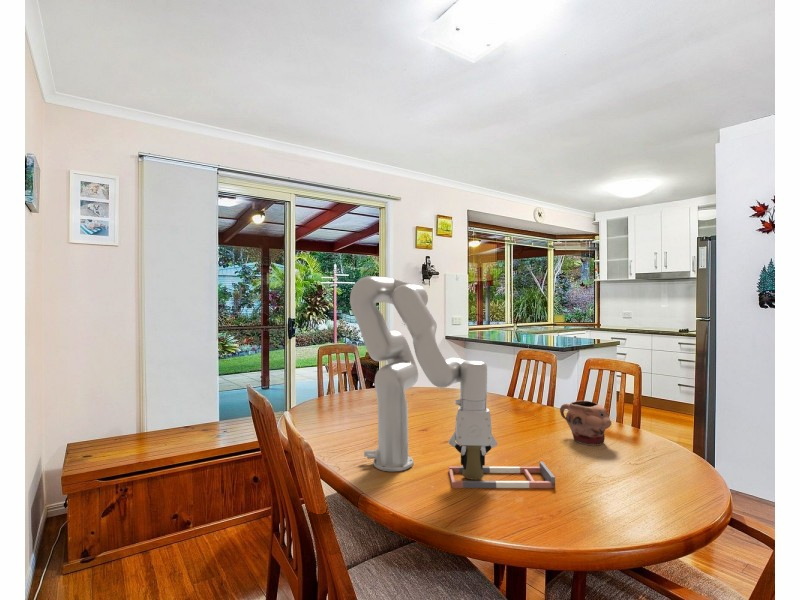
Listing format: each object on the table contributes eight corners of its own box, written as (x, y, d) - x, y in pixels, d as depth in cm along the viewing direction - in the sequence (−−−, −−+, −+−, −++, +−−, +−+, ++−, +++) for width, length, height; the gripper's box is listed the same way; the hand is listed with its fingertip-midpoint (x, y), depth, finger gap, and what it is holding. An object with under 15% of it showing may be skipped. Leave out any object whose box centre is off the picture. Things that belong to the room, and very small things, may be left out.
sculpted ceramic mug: (549, 437, 158) (549, 399, 158) (567, 430, 165) (567, 395, 165) (603, 452, 142) (602, 410, 142) (620, 444, 149) (620, 404, 149)
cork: (467, 480, 118) (467, 441, 118) (458, 471, 124) (459, 434, 124) (487, 478, 120) (487, 439, 120) (477, 469, 126) (478, 432, 126)
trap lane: (452, 487, 117) (452, 476, 117) (448, 471, 128) (448, 461, 128) (555, 488, 116) (555, 477, 116) (542, 471, 127) (542, 461, 127)
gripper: (445, 407, 118) (444, 472, 119) (505, 408, 118) (504, 473, 118) (443, 400, 126) (442, 461, 126) (500, 401, 125) (499, 463, 126)
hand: (472, 466), depth 122 cm, fingers closed on cork, 4 cm apart
